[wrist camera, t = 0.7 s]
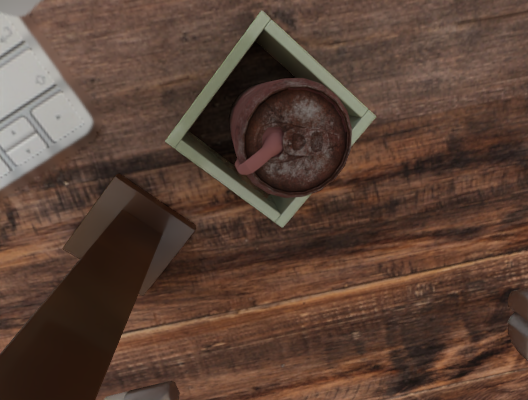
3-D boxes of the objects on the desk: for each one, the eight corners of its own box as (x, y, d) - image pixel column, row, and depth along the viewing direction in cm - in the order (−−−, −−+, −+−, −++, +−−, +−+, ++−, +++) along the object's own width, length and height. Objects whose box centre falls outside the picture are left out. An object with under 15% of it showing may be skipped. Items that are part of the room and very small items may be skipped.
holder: (175, 132, 30) (164, 141, 25) (253, 26, 29) (261, 9, 23) (272, 205, 33) (282, 228, 27) (348, 112, 31) (376, 116, 26)
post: (67, 243, 32) (-564, 866, 6) (118, 173, 31) (-406, 588, 5) (145, 289, 34) (-87, 897, 8) (196, 225, 33) (106, 708, 7)
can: (211, 115, 30) (204, 134, 17) (272, 68, 30) (315, 48, 16) (255, 171, 32) (279, 229, 19) (313, 128, 32) (380, 154, 18)
